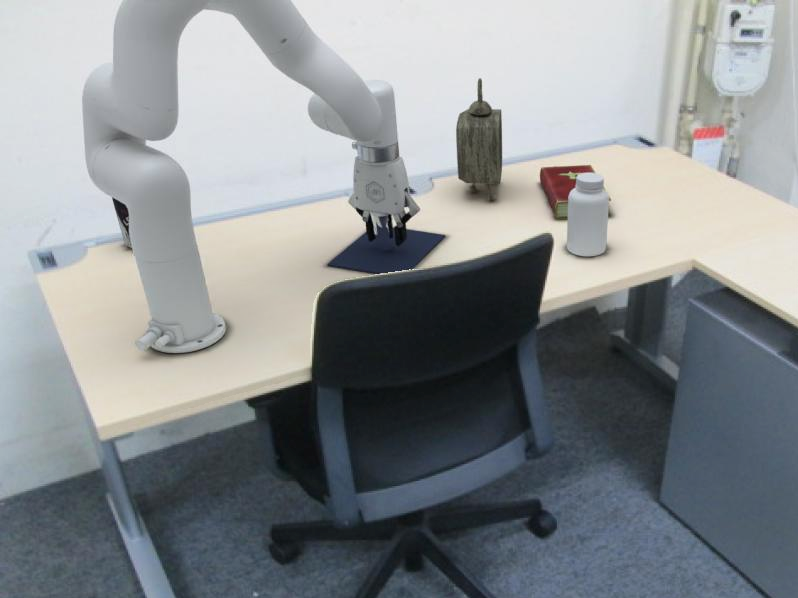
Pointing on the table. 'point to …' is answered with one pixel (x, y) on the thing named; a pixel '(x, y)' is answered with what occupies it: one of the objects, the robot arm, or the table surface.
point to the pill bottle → (587, 216)
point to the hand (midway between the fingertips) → (387, 240)
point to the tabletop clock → (479, 144)
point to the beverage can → (123, 220)
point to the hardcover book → (561, 186)
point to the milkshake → (383, 231)
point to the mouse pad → (386, 253)
